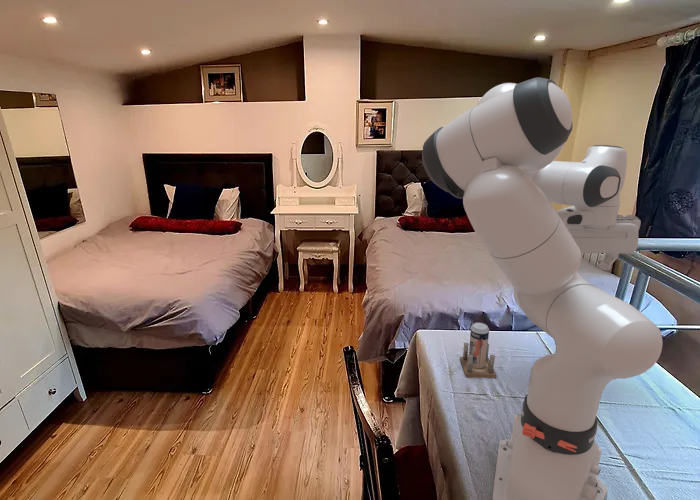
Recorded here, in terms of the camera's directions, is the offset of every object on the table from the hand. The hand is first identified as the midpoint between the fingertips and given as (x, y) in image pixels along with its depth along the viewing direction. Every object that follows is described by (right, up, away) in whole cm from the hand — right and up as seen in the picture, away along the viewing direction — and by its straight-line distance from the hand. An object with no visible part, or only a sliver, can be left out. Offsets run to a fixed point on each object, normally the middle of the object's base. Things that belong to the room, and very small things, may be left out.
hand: (585, 268), depth 94 cm
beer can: (-24, -27, +10) cm, 38 cm away
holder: (-24, -28, +10) cm, 38 cm away
